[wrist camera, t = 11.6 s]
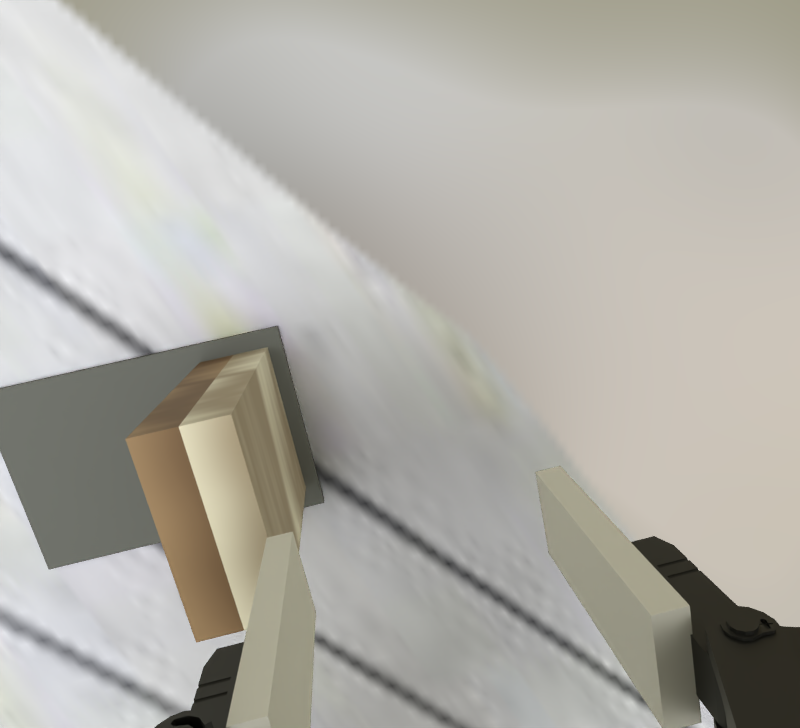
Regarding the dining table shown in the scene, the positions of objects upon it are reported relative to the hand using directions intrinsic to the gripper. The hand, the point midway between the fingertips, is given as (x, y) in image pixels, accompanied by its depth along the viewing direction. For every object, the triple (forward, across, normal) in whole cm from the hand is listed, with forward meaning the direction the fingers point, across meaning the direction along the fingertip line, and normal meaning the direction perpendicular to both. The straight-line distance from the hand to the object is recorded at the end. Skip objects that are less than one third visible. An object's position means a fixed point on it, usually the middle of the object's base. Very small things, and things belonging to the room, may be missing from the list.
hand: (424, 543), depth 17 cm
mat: (+15, -12, 0) cm, 19 cm away
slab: (+15, -7, 0) cm, 16 cm away
